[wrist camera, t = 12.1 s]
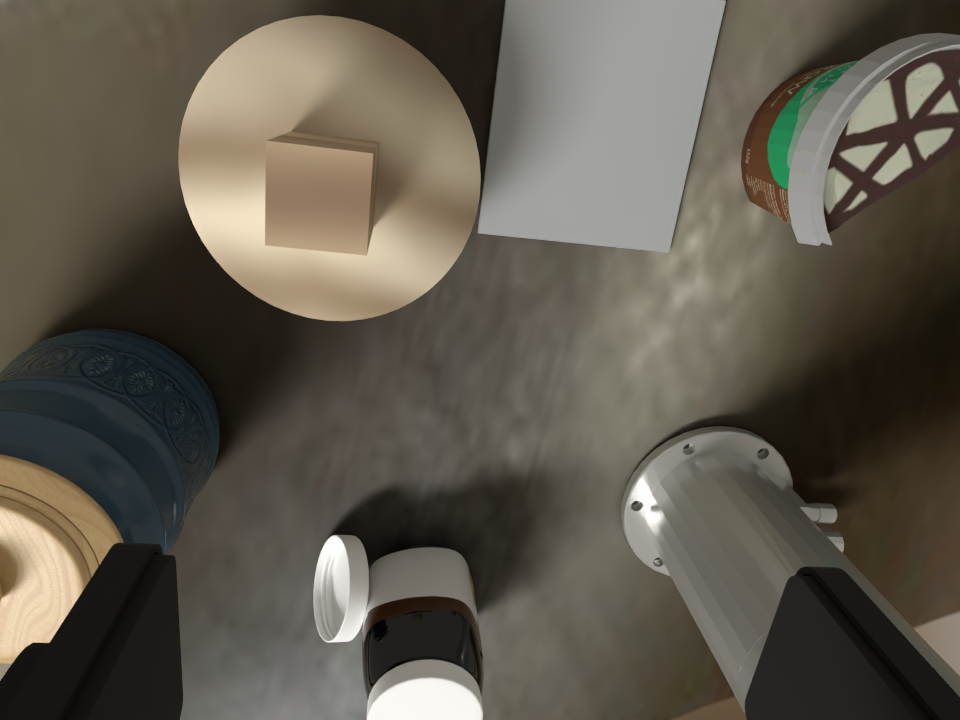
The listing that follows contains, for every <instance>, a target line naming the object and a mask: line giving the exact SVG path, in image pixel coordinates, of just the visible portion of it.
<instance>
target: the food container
mask: <svg viewBox="0 0 960 720" xmlns="http://www.w3.org/2000/svg"><path fill="white" fill-rule="evenodd" d="M959 146H960V35H954V34H946V33H931V34H919V35H915V36H911V37H907V38H903V39H899V40H897V41H895V42H892V43H890V44H888V45H885V46H883V47H881V48H879V49H877V50H876V51H874V52H872V53H871V54H869V55H867V56H866V57H864V58H862V59H861V60H859V61H853V62H848V63H843V64H837V65H832V66H827V67H821V68H816V69H812V70H809V71H807V72H804V73H801V74H799V75H796V76H794V77H792V78H791V79H789V80H787V81H786V82H784V83H783V84H781V85H780V86H779V87H778V88H776V89H775V90H774V91H773V92H772V93H771V94H770V95H769V96H768V97H767V98H766V100H765V101H764V102H763V103H762V105H761V106H760V107H759V109H758V110H757V112H756V113H755V115H754V117H753V119H752V121H751V123H750V125H749V128H748V130H747V133H746V136H745V139H744V144H743V149H742V159H741V170H742V179H743V183H744V187H745V190H746V193H747V195H748V197H749V200H750V201H751V202H752V203H754V204H756V205H758V206H759V207H761V208H763V209H765V210H766V211H768V212H770V213H772V214H773V215H775V216H777V217H779V218H780V219H782V220H784V221H786V222H787V223H789V224H791V225H792V228H793V230H794V233H795V235H796V238H797V241H798V243H803V244H810V245H818V246H819V245H820V244H821V243H825V244H828V245H832V242H831V239H830V237H829V234H828V233H830V232H831V231H833V230H835V229H837V228H838V227H839V226H840V225H842V224H843V223H844V222H845V221H847V220H848V219H849V218H851V217H852V216H854V215H855V214H857V213H858V212H860V211H862V210H863V209H865V208H866V207H868V206H869V205H871V204H872V203H874V202H876V201H877V200H879V199H880V198H882V197H884V196H885V195H887V194H889V193H890V192H892V191H894V190H896V189H897V188H899V187H901V186H903V185H904V184H906V183H908V182H910V181H911V180H913V179H914V178H916V177H918V176H919V175H921V174H923V173H925V172H926V171H928V170H929V169H930V168H932V167H933V166H934V165H936V164H937V163H938V162H940V161H941V160H942V159H944V158H945V157H946V156H947V155H949V154H950V153H951V152H952V151H954V150H955V149H956V148H957V147H959Z"/></svg>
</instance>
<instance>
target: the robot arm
mask: <svg viewBox="0 0 960 720" xmlns="http://www.w3.org/2000/svg"><path fill="white" fill-rule="evenodd" d="M836 519H837V511H836V508H835V506H834V505H832V504H830V503H812V504H811V503H805V502H804V501H803V500H802V499H801V497H800V496H799V495H798V494H797V493H796V492H795V491H794V490H793V481H792V477H791V474H790V470H789V467H788V466H787V464H786V462H785V460H784V459H783V457H782V456H781V455H780V454H779V453H778V452H777V450H776V449H775V448H774V447H773V446H772V445H771V444H769V443H768V442H767V441H766V440H764V439H763V438H762V437H760V436H758V435H756V434H754V433H752V432H750V431H748V430H744V429H740V428H736V427H727V426H713V427H704V428H699V429H695V430H692V431H688V432H685V433H683V434H681V435H678V436H676V437H674V438H672V439H670V440H668V441H667V442H665V443H664V444H662V445H661V446H659V447H658V448H656V449H655V450H654V451H653V452H652V453H651V454H650V455H648V456H647V457H646V458H645V459H644V460H643V461H642V462H641V464H640V465H639V466H638V468H637V469H636V470H635V472H634V473H633V474H632V476H631V478H630V480H629V482H628V484H627V486H626V488H625V492H624V495H623V499H622V504H621V521H622V527H623V531H624V533H625V536H626V538H627V540H628V542H629V544H630V546H631V548H632V549H633V551H634V553H635V554H636V555H637V556H638V557H639V558H640V560H641V561H642V562H643V563H645V564H646V565H647V566H649V567H650V568H652V569H653V570H655V571H658V572H660V573H663V574H665V575H668V576H671V578H672V579H673V581H674V583H675V585H676V587H677V589H678V590H679V592H680V594H681V596H682V598H683V600H684V602H685V603H686V605H687V607H688V609H689V611H690V613H691V615H692V616H693V618H694V620H695V622H696V624H697V626H698V627H699V629H700V631H701V633H702V635H703V637H704V639H705V640H706V642H707V644H708V646H709V648H710V650H711V651H712V653H713V655H714V657H715V659H716V661H717V663H718V664H719V666H720V668H721V670H722V672H723V674H724V675H725V677H726V679H727V681H728V683H729V685H730V687H731V688H732V690H733V692H734V694H735V696H736V698H737V700H738V701H739V703H740V705H741V707H742V709H743V711H744V712H745V714H746V718H747V720H960V676H959V675H958V674H957V673H956V672H955V671H954V670H953V669H952V668H951V667H950V666H949V665H948V664H947V663H946V662H945V661H944V660H943V659H942V658H941V657H940V656H939V655H938V654H937V653H936V652H935V651H934V650H933V649H932V648H931V647H930V646H929V645H928V643H927V642H926V641H925V640H924V639H923V638H922V637H921V636H920V635H919V634H918V633H917V632H916V631H915V630H914V629H913V628H912V627H911V626H910V624H909V623H908V622H907V621H906V620H905V619H904V618H903V617H902V616H901V615H900V614H899V613H898V612H897V611H896V610H895V608H894V607H893V606H892V605H891V604H890V603H889V602H888V601H887V600H886V599H885V598H884V597H883V596H882V595H881V594H880V592H879V591H878V590H877V589H876V588H875V587H874V586H873V585H872V584H871V583H870V582H869V581H868V580H867V579H866V578H865V577H864V575H863V574H862V573H861V572H860V571H859V570H858V569H857V568H856V567H855V566H854V565H853V564H852V563H851V562H850V561H849V559H848V558H847V557H846V556H845V555H844V554H843V553H842V552H843V550H844V541H843V537H842V536H841V534H840V533H839V532H838V531H836V530H830V529H819V527H818V526H817V525H816V524H815V523H834V522H835V520H836ZM814 522H815V523H814ZM182 703H183V686H182V667H181V649H180V630H179V612H178V593H177V575H176V561H175V557H174V556H173V555H163V550H162V548H161V545H159V544H144V543H116V544H114V545H113V546H112V547H111V548H110V550H109V551H108V553H107V554H106V556H105V557H104V559H103V560H102V562H101V564H100V565H99V567H98V568H97V570H96V571H95V573H94V574H93V576H92V578H91V579H90V581H89V582H88V584H87V585H86V587H85V588H84V590H83V591H82V593H81V595H80V596H79V598H78V599H77V601H76V602H75V604H74V605H73V607H72V609H71V610H70V612H69V613H68V615H67V616H66V618H65V619H64V621H63V622H62V624H61V626H60V627H59V629H58V630H57V632H56V633H55V635H54V636H53V638H52V640H51V641H50V643H31V644H30V645H28V646H27V647H25V648H24V649H23V650H22V652H21V653H20V654H19V655H18V656H17V658H16V659H15V660H14V662H13V663H12V665H11V666H10V668H9V669H8V671H7V672H6V674H5V675H4V676H3V678H2V679H1V681H0V720H180V715H181V710H182Z"/></svg>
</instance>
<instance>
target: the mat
mask: <svg viewBox="0 0 960 720" xmlns="http://www.w3.org/2000/svg"><path fill="white" fill-rule="evenodd" d="M725 3H726V1H725V0H505V7H504V16H503V24H502V32H501V41H500V49H499V57H498V66H497V74H496V82H495V91H494V99H493V108H492V116H491V124H490V133H489V141H488V149H487V158H486V166H485V174H484V183H483V191H482V200H481V208H480V216H479V225H478V233H481V234H491V235H501V236H510V237H520V238H530V239H540V240H550V241H560V242H569V243H579V244H589V245H599V246H609V247H619V248H628V249H638V250H648V251H658V252H668V253H669V251H670V246H671V242H672V237H673V233H674V228H675V224H676V220H677V215H678V211H679V206H680V202H681V197H682V193H683V189H684V184H685V180H686V175H687V171H688V166H689V162H690V158H691V153H692V149H693V144H694V140H695V135H696V131H697V127H698V122H699V118H700V113H701V109H702V104H703V100H704V96H705V91H706V87H707V82H708V78H709V74H710V69H711V65H712V60H713V56H714V51H715V47H716V43H717V38H718V34H719V29H720V25H721V20H722V16H723V12H724V7H725Z"/></svg>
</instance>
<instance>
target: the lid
mask: <svg viewBox="0 0 960 720" xmlns="http://www.w3.org/2000/svg"><path fill="white" fill-rule="evenodd" d="M178 164H179V173H180V183H181V188H182V192H183V196H184V200H185V204H186V207H187V210H188V212H189V215H190V218H191V220H192V223H193V225H194V227H195V229H196V231H197V233H198V234H199V236H200V238H201V240H202V242H203V243H204V245H205V246H206V248H207V249H208V251H209V252H210V253H211V255H212V256H213V258H214V259H215V260H216V261H217V262H218V263H219V265H220V266H221V267H222V268H223V269H224V270H225V271H226V273H228V274H229V275H230V276H231V277H232V278H233V279H234V280H235V281H236V282H238V283H239V284H240V285H241V286H242V287H244V288H245V289H247V290H248V291H249V292H251V293H252V294H254V295H255V296H256V297H258V298H260V299H262V300H264V301H265V302H267V303H269V304H271V305H273V306H275V307H277V308H280V309H282V310H285V311H287V312H290V313H293V314H297V315H300V316H304V317H308V318H313V319H320V320H327V321H351V320H361V319H367V318H371V317H376V316H380V315H383V314H386V313H389V312H391V311H394V310H397V309H399V308H401V307H403V306H405V305H407V304H409V303H411V302H413V301H414V300H416V299H417V298H419V297H420V296H421V295H423V294H424V293H426V292H427V291H429V290H430V289H431V288H432V287H433V286H434V285H435V284H436V283H437V282H438V281H440V280H441V279H442V277H443V276H444V275H445V274H446V273H447V272H448V270H449V269H450V268H451V267H452V266H453V264H454V263H455V261H456V260H457V258H458V256H459V255H460V253H461V252H462V250H463V248H464V246H465V244H466V242H467V240H468V238H469V236H470V233H471V230H472V227H473V224H474V221H475V218H476V214H477V209H478V203H479V198H480V183H481V174H480V160H479V154H478V149H477V144H476V139H475V136H474V133H473V130H472V126H471V123H470V120H469V118H468V116H467V114H466V112H465V110H464V107H463V105H462V103H461V101H460V99H459V98H458V96H457V95H456V93H455V92H454V90H453V89H452V87H451V85H450V84H449V82H448V81H447V80H446V79H445V78H444V76H443V75H442V74H441V73H440V72H439V70H438V69H437V68H436V67H435V66H434V65H433V64H432V63H431V62H430V61H429V60H428V59H427V58H426V57H424V56H423V55H422V54H421V53H420V52H419V51H418V50H416V49H415V48H413V47H412V46H411V45H409V44H408V43H406V42H405V41H404V40H402V39H400V38H399V37H397V36H395V35H393V34H391V33H389V32H387V31H385V30H384V29H381V28H379V27H376V26H373V25H370V24H368V23H365V22H362V21H358V20H353V19H349V18H344V17H337V16H324V15H315V16H300V17H294V18H290V19H285V20H281V21H277V22H274V23H271V24H269V25H266V26H264V27H261V28H258V29H256V30H255V31H253V32H251V33H249V34H248V35H246V36H244V37H242V38H241V39H239V40H238V41H237V42H235V43H234V44H233V45H232V46H230V47H229V48H228V49H227V50H225V51H224V52H223V53H222V54H221V55H220V56H219V57H218V58H217V59H216V60H215V62H214V63H213V64H212V65H211V66H210V67H209V68H208V70H207V71H206V73H205V74H204V76H203V77H202V79H201V80H200V81H199V83H198V85H197V87H196V89H195V91H194V93H193V95H192V97H191V99H190V101H189V103H188V106H187V110H186V113H185V116H184V119H183V122H182V128H181V134H180V140H179V161H178Z"/></svg>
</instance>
